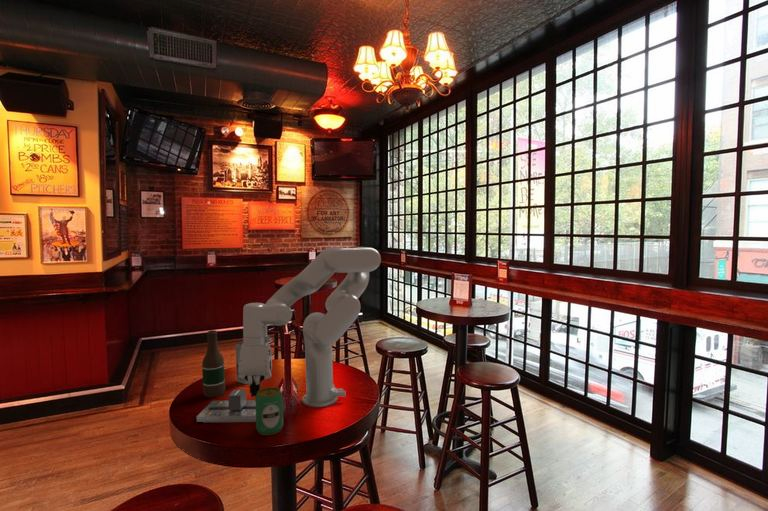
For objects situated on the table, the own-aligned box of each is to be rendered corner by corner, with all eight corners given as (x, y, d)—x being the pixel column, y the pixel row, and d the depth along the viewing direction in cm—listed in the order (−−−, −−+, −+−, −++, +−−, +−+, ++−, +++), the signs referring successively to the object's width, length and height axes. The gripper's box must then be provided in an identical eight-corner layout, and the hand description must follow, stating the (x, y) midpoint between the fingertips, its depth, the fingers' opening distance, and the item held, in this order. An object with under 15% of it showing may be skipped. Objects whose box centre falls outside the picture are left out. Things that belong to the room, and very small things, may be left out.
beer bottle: (217, 398, 149) (214, 334, 148) (198, 397, 151) (195, 333, 149) (229, 390, 157) (227, 328, 155) (211, 389, 159) (209, 328, 157)
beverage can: (258, 438, 121) (256, 398, 120) (255, 426, 128) (253, 389, 127) (285, 432, 124) (284, 393, 123) (281, 421, 131) (279, 384, 130)
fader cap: (246, 403, 139) (245, 389, 139) (240, 410, 134) (240, 395, 134) (234, 403, 139) (233, 389, 139) (228, 410, 134) (228, 395, 134)
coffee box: (245, 385, 162) (244, 345, 161) (236, 381, 166) (234, 342, 165) (264, 378, 170) (263, 340, 169) (255, 374, 173) (253, 337, 172)
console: (281, 405, 143) (280, 394, 142) (271, 421, 131) (271, 410, 131) (212, 406, 143) (212, 395, 143) (196, 422, 131) (196, 411, 131)
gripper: (280, 338, 139) (280, 391, 140) (236, 337, 139) (236, 390, 140) (274, 344, 131) (274, 400, 132) (228, 343, 131) (228, 399, 132)
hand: (255, 394), depth 136 cm, fingers closed
